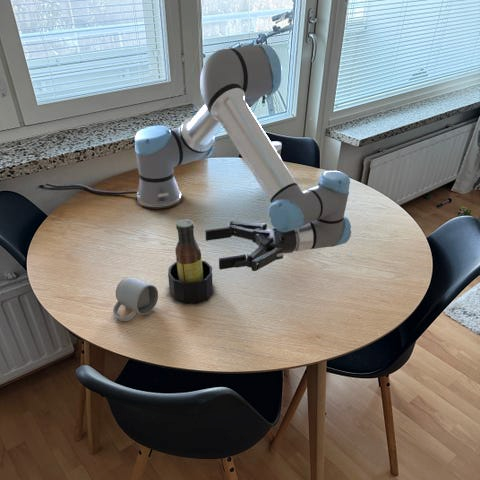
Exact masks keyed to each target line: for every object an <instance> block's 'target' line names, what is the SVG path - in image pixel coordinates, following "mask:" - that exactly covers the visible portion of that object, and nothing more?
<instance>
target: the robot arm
mask: <svg viewBox="0 0 480 480" xmlns="http://www.w3.org/2000/svg"><path fill="white" fill-rule="evenodd" d="M282 74H283V66H282V61H281V59H280V56H279V54H278V53H277V50H276V49H275V48H274V47H273V46H272V45H270V44H265V43H264V44H261V43H256V44H254V45H246V46H239V47H232V48H231V47H230V48H222V49H219V50H217V51H215V52H213V53H212V54H210V56H209V57H208V58H207V59H206V60H205V63H204V64H203V66H202V69H201V72H200V77H199V87H200V89H199V90H200V95H201V98H202V101H203V105H202V106H201V108H199V110H198V111H197V112H196V114H195V115H194V116H193V115H192V116H189V117H187V118H185V119H184V121H183V122H182V123H181V124H180V125H179V126H177V127H173V128H169V127H168V126H165V125H161V124H160V125H150V126H147V127H144V128H142V129H140V130H139V131H138V132H137V133H136V135H135V136H134V152H135V156H136V162H137V170H138V175H139V181H138V187H137V190H124V191H109V190H99V189H95V188H92V187H89V186H87V185H85V184H84V185H83V184H53V183H51V182H46V183H47V184H46V185H40V184H39V186H38V187H39V188H42V187H44V186H48V187H52V188H56V189H67V188H80V189H81V188H82V189H85V190H88V191H90V192H92V193H97V194H101V195H128V194H129V195H130V194H132V195H133V194H134V195H135V194H136V200H137V203H138V204H139V205H140V206H141V207H143V208H147V209H152V210H153V209H154V210H163V209H167V208H171V207H175V206H176V205H178V204H179V203H180V202H181V200H182V192H181V190H180V188H179V186H178V182H177V181H176V178H175V170H174V169H175V167H178V166H181V165H186V164H190V163H193V162H197V161H202V160H205V159H206V158H209V157H210V156H212V154H213V152H214V150H215V146H214V145H216V139H215V137H216V136H217V135H218V134H219V133H220V132H221V131H222V130H223V129H224V131H225V132H226V133H227V135H228V137H229V138H230V140H231V143H233V145H234V147H235V148H236V150H237V151H238V153H239V154H240V156H241V158H242V159H243V161H244V163H245V164H246V165H247V167H248V169H249V170H250V172H251V173H252V175H253V177H254V178H255V180H256V181H257V183H258V185H259V186H260V188H261V190H262V191H263V193H264V194H265V196H266V197H267V199H268V200H269V202H270V203H271V204H270V206H269V208H268V217H269V218H270V221H269V222H270V224H271V226H272V227H273V229H268V228H267V227H268V224H267V223H265V222H264V223H255V222H254V223H252V222H243V221H234V220H233V221H230V222H229V226H225V227H219V228H212V229H205V241H206V242H209V241H216V240H222V239H230V238H232V237H237V238H240V239H245V240H249V241H251V242H252V243H255V244H256V245H257V246H258V247H257V248H256V249H255V250H253V251H252V252H251V253H250V254H248V253H247V254H239V255H233V256H226V257H220V258H218V268H219V270H227V269H233V268H236V269H237V268H244V267H245V268H251V271H252V272H256V271H259V270H260V269H262V268H264V267H266V266H268V265H269V264H272V263H273V262H275V261H278V260H282V259H284V254H290V253H293V252H303V251H308V250H316V249H323V248H331V247H332V248H333V247H337V246H341V245H345V244H346V243H348V242H349V240H350V238H351V236H352V230H351V228H352V225H351V221H350V219H349V218H348V217H347V216H345V214H346V213H345V212H346V208H347V204H348V203H347V202H348V199H349V195H350V184H351V179H350V176H349V175H347V174H346V173H344V172H342V171H338V170H327V171H324V172H322V173H321V174H320V176H319V177H318V181H317V185H316V186H313V187H311V188H308V189H305V190H302V189H301V187H300V186H299V184H298V183H297V181H296V180H295V178H294V177H293V175H292V173H291V172H290V170H289V169H288V167H287V166H286V164H285V162H284V160H283V159H282V157H281V155H280V156H279V154H278V153H277V151H276V150H275V148H274V147H273V145H272V143H271V142H272V141H271V140H270V138H269V136H268V135H267V134H266V132H265V130H264V129H263V128H262V125H261V124H260V122H259V120H258V119H257V118H256V116H255V115H254V113H253V112H252V110H251V108H252V107H253V106H254V105H255V104H256V103H257V102H258V101H259V100H260V99H261V98H262V97H265V96H271V95H273V94H274V93H276V92H277V91H279V88H280V87H281V84H282V80H283V75H282Z"/></svg>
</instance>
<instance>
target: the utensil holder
mask: <svg viewBox="0 0 480 480" xmlns="http://www.w3.org/2000/svg"><path fill="white" fill-rule="evenodd" d="M202 269H203V280H200V281H197V282H182V281H179V276H178V269H177V261H175V262H174V263H172V264H171V265H170V266H169V267H168V269H167V270H168V272H167V277H168V286H169V287H168V288H169V295H170V297H172V299H173V300H174V301H175V302H177V303H180V304H182V305H198V304H201V303H204V302H206V301H208V300H209V299H210V297H212V295H214V289H213V287H214V286H213V285H214V284H213V266H212V265H210V263H208V262H207V261H206V260H203V259H202Z"/></svg>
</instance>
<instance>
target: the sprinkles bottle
mask: <svg viewBox="0 0 480 480" xmlns="http://www.w3.org/2000/svg"><path fill="white" fill-rule="evenodd" d="M270 142H271V143H272V145H273V147H274V148H275V150H276V151H277V153H278V154H279V156H280V157H281V153H282V145H283V144H282V142H281V141H277V140H276V141H270Z"/></svg>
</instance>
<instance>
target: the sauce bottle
mask: <svg viewBox="0 0 480 480" xmlns="http://www.w3.org/2000/svg"><path fill="white" fill-rule="evenodd" d="M175 226H176V230H177V236H178V238H177V239H178V241H177V243H176V246H175V260H176V261H175V262H177V269H178V276H179V281H182V282H197V281H200V280H203V269H202V260H203V259H202V252H201V249H200V247H199V244H198V242H197V240H196V238H195V237H196V236H195V234H194V229H195V225H194V222H193V220H191V219H189V218H188V219H187V218H185V219H180V220H178V221H176V223H175Z"/></svg>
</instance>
